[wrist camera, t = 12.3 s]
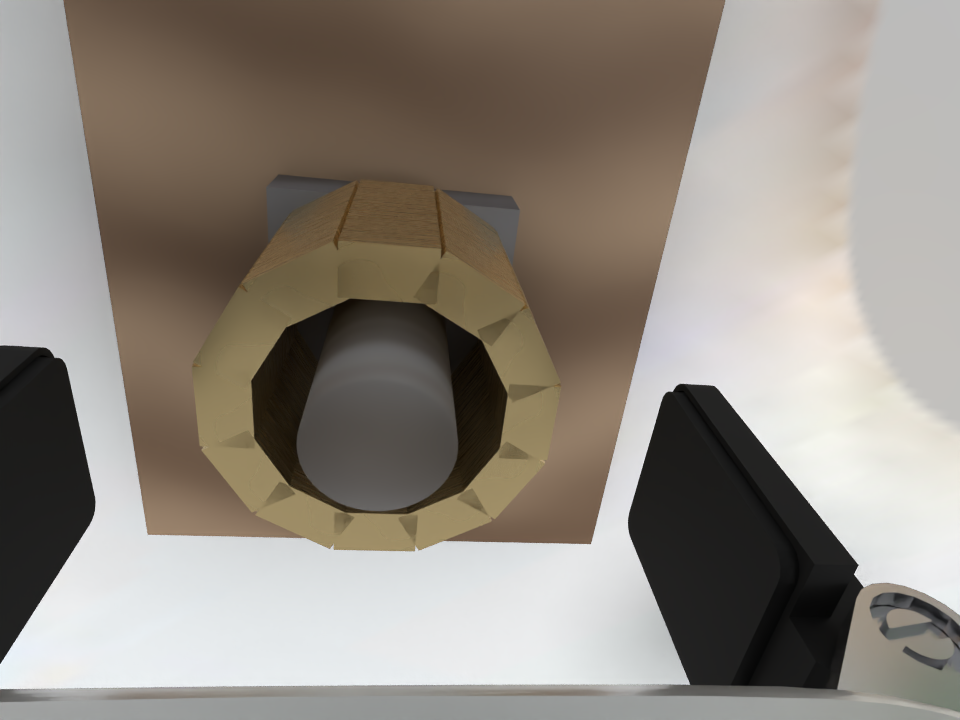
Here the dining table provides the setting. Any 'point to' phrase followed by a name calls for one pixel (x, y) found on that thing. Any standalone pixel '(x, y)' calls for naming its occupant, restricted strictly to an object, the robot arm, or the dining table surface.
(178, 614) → the dining table surface
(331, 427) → the shaft stand
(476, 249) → the ring
